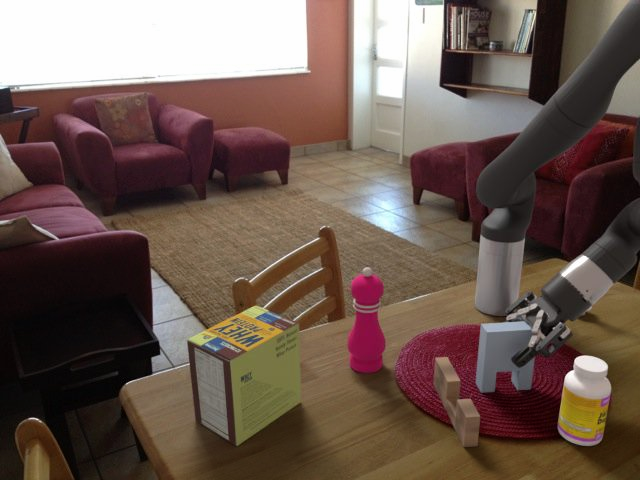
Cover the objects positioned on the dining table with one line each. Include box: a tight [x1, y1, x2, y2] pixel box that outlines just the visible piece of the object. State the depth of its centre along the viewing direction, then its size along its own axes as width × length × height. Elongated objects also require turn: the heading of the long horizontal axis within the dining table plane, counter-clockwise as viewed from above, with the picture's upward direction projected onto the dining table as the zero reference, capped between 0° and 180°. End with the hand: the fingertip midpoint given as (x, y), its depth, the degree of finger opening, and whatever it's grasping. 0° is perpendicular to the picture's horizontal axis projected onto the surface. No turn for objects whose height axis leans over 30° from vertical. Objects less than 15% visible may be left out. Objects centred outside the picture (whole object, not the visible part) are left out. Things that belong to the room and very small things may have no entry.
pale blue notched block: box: [475, 321, 536, 394], centre depth 106 cm, size 9×3×12 cm, turn 96°
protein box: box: [186, 305, 302, 447], centre depth 100 cm, size 10×15×16 cm
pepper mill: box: [346, 267, 387, 374], centre depth 112 cm, size 7×7×20 cm
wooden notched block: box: [433, 356, 481, 448], centre depth 101 cm, size 17×2×6 cm, turn 6°
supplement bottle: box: [557, 355, 612, 447], centre depth 94 cm, size 7×7×13 cm
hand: (505, 351), depth 106 cm, fingers open, 8 cm apart
